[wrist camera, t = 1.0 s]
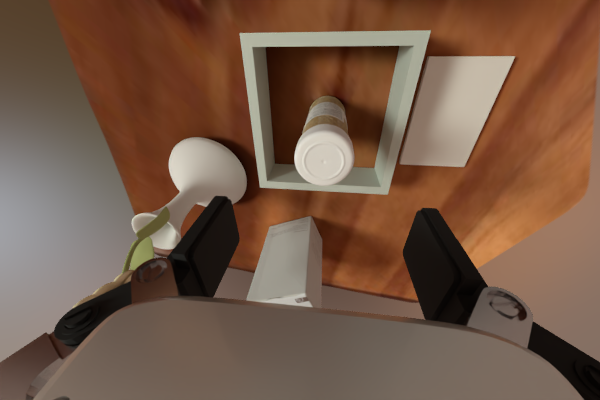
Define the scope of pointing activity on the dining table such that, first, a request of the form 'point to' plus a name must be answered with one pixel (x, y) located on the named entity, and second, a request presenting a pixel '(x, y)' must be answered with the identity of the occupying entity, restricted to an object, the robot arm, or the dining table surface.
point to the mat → (452, 108)
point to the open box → (395, 117)
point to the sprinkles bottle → (325, 144)
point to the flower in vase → (182, 200)
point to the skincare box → (290, 265)
